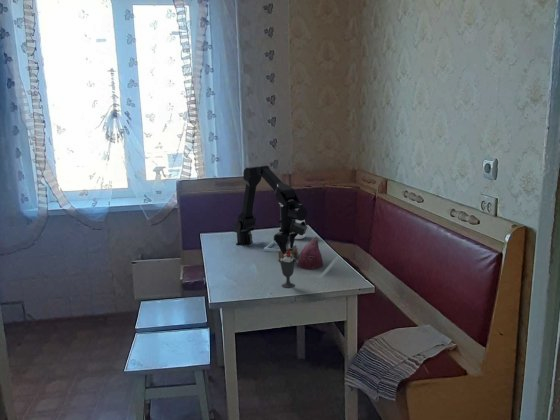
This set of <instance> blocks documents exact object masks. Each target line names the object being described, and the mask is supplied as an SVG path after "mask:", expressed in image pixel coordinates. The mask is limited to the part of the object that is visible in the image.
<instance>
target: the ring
mask: <svg viewBox="0 0 560 420" xmlns="http://www.w3.org/2000/svg"><path fill="white" fill-rule="evenodd" d="M286 252H288V251H286ZM290 253H291V254H292V256H293V257H295V258H299V252H298V248H297V247H293V248H290ZM282 257H283V253H282V251H281V250H280V251H279V252H278V259H280V258H282Z"/></svg>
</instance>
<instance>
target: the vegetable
mask: <svg viewBox="0 0 560 420" xmlns="http://www.w3.org/2000/svg"><path fill="white" fill-rule="evenodd" d="M323 265H324V263H323V256H322V253H321V251H320V248H319V240H318V236H317V235H316V236H315V237H313V238H311V240H310V241H309V242H308V243H307V244H306V245H304V247H303V248H302V249H301V251H300V253H299V255H298V261H297V267H298V268H300V269H303V270H309V271H311V270H312V271H314V270H319V269H320V268H322V267H323Z"/></svg>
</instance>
